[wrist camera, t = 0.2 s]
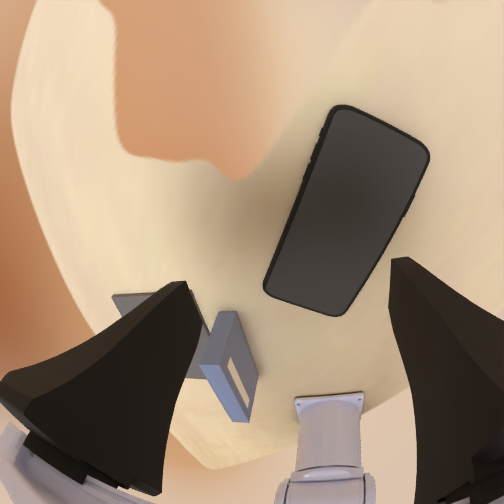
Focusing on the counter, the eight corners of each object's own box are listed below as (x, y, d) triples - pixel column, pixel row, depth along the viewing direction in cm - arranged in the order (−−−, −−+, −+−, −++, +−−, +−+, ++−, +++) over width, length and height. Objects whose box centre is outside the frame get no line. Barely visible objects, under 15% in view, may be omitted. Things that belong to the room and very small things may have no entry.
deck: (258, 374, 27) (249, 422, 22) (243, 374, 28) (232, 421, 23) (236, 310, 23) (219, 364, 18) (218, 311, 24) (198, 364, 19)
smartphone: (257, 294, 22) (333, 98, 14) (259, 286, 22) (331, 98, 15) (342, 321, 22) (437, 150, 14) (341, 314, 23) (431, 147, 15)
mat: (229, 377, 28) (229, 380, 28) (160, 373, 31) (159, 375, 30) (191, 290, 23) (189, 292, 23) (113, 294, 25) (111, 297, 25)
